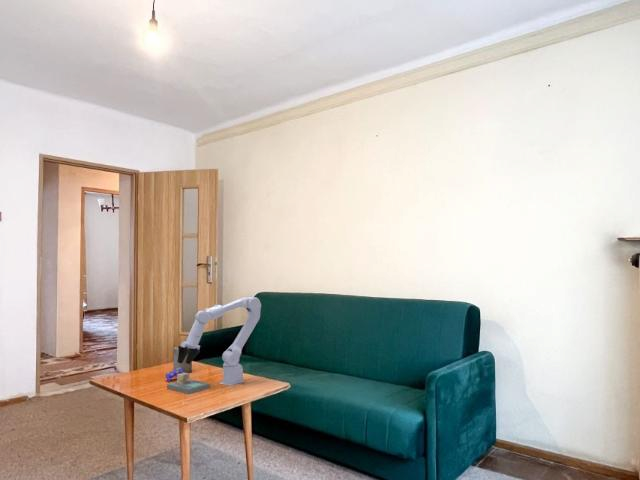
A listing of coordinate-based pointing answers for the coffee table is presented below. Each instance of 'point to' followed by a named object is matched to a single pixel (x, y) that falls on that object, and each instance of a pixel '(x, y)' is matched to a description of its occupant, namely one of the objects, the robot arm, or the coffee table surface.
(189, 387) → the pocket board
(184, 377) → the birch block
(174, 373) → the game controller
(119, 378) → the coffee table surface
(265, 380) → the coffee table surface
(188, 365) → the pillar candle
